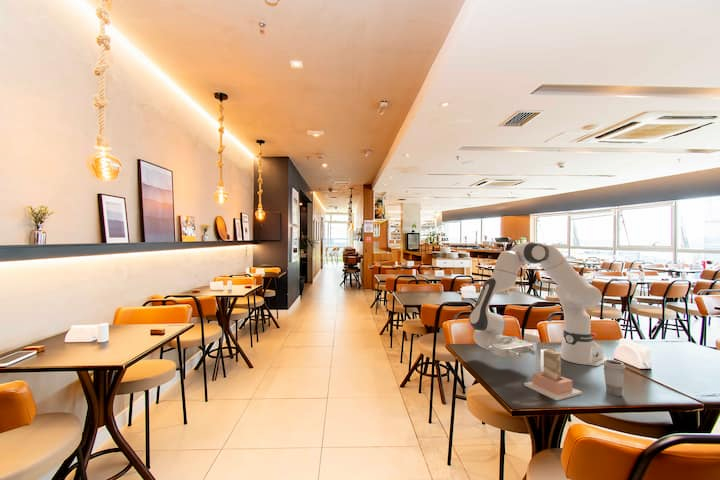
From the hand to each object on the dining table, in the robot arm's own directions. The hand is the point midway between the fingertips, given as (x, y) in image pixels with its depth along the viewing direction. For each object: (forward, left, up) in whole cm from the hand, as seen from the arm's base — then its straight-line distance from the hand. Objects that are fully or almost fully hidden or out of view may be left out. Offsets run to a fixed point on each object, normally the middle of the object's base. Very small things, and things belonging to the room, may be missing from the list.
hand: (527, 354), depth 138 cm
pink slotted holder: (0, +11, -10) cm, 15 cm away
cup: (-20, +22, -11) cm, 32 cm away
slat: (0, +11, -9) cm, 15 cm away
